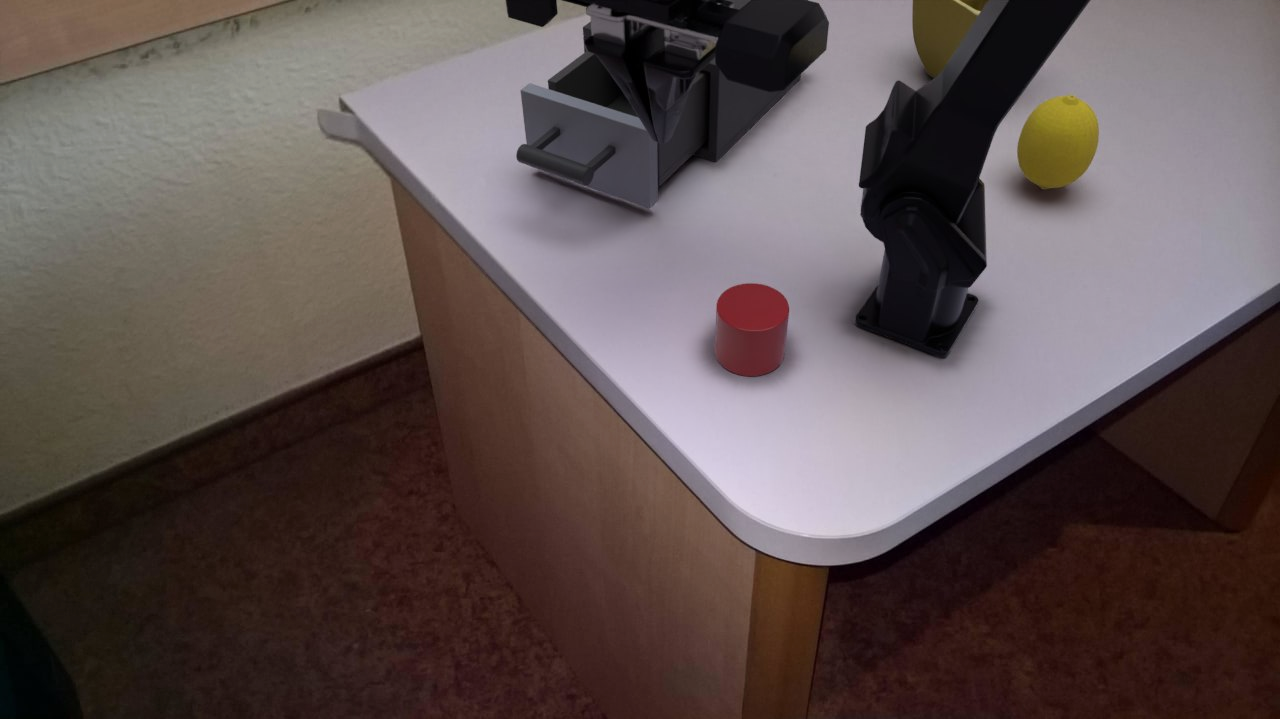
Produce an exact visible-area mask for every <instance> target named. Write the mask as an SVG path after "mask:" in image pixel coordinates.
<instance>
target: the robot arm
mask: <svg viewBox="0 0 1280 719" xmlns="http://www.w3.org/2000/svg"><path fill="white" fill-rule="evenodd" d="M561 1H563V2H566V3H570V4H573V5H577V6H581V7H585V13H586V16H590V22H591V32H592V35H591V36H589V37H588V38H587V39H585V41H584V40H583V46H584V45H585V49H586V51H588V52H590V53H593V54H595V55H596V56H597V57H598V58H599V60H600V61H601V62H602V64H603V65H604V67H605V68H606V69H607V71H608V72H609V73H610V75H611V76H612V78H613V79H614V80H615V82H616V83H617V84H618V86H619V87H620V89H621V90H622V91H623V93H624V95H625V96H626V98H627V99H628V101H629V102H630V104H631V106H632V107H633V109H634V111H635V112H636V114H637V116H638V117H639V119H640V120H641V122H642V124H643V125H644V127H645V129H646V130H647V132H648V134H649V135H650V137H651V139H652V140H653V141H655V142H659V143H661V144H665V143H666V142H667V141H669V140H670V139H671V138H672V136H673V134H674V131H675V128H676V126H677V123H678V121H679V118H680V115H681V113H682V110H683V108H684V105H685V102H686V100H687V97H688V95H689V92H690V90H691V87H692V85H693V82H694V80H695V78H696V76H697V74H698V72H699V71H701V70H702V69H703V68H704V67H705V66H706V65H708V64H709V63H710V62H711V61H712V60H714V59H715V64H716V65H717V66H718V68H719V69H720V71H721V72H722V73H723V75H724V76H725V77H726V79H727V80H729V81H732V82H736V83H739V84H743V85H746V86H750V87H753V88H757V89H760V90H764V91H767V92H775V91H782V90H785V89H786V88H787V87H788V86H789V85H790V84H791V83H792V82H793V81H794V80H795V79H796V78H797V77H798V76H799V75H801V76H802V74H803V73H804V72H805V71H806V70H807V69H808V68H809V67H810V66H811V65H812V64H814V63H815V61H816V60H818V59H819V58H820V57H821V56H822V55H823V54H824V53H825V52H826V51H827V48H828V37H829V28H830V21H829V19H828V17H827V15H826V12H825V11H824V9H823V7H822V5H820V2H816V1H812V0H751V1H750V2H748V3H747V4H746V5H745V6H743V7H742V8H741V9H740V10H739V9H735V8H734V3H733V2H730V1H726V0H561ZM1090 2H1091V0H988V1H987V3H986V4H985V6H984V7H983V9H982V11H981V12H980V14H979V15H978V17H977V18H976V20H975V21H974V23H973V24H972V26H971V27H970V29H969V31H968V32H967V34H966V35H965V37H964V38H963V40H962V41H961V43H960V44H959V46H958V47H957V49H956V51H955V52H954V54H953V55H952V57H951V58H950V60H949V61H948V63H947V64H946V66H945V67H944V69H943V70H942V71H941V72H940V74H939V75H938V76H937V77H936V78H933V79H931V80H930V81H929V82H926V84H924V85H922V86H921V87H919V88H918V89H916V90H915V89H913V88H911V87H910V86H909V85H908V84H906V83H905V82H904V81H901V80H896V81H895V82H894V85H893V87H892V88H891V92H890V93H889V97H888V99H887V102H886V104H885V106H884V108H883V109H882V111H881V112H880V113H879V114H878V116H877V117H876V118H875V119H874V120H872V121H870V122H869V123H868V124H867V125H866V126H865V131H864V137H863V138H864V139H863V146H862V154H861V163H860V172H859V181H858V188H860V189H862V195H861V204H860V217H861V219H862V221H863V225H864V227H865V228H866V230H867V231H868V232H869V233H870V234H871V236H872V237H874V238H875V239H876V240H878V241H880V242H881V243H883V246H884V251H883V257H882V262H881V268H880V272H879V278H878V283H877V286H875V288H874V289H873V291H872V293H871V294H870V296H869V297H868V298H867V300H866V301H865V302H864V304H863V305H862V307H861V308H860V309H859V311H858V312H857V314H855V315H856V316H855V320H854V324H855V325H856V326H858V327H860V328H862V329H865V330H867V331H870V332H873V333H876V334H878V335H881V336H884V337H886V338H889V339H892V340H894V341H896V342H900V343H902V344H904V345H908V346H909V347H913V348H915V349H918V350H921V351H923V352H926V353H928V354H932V355H934V356H937V357H940V358H945V357H947V356H948V355H949V354H950V353H951V351H952V349H953V347H954V346H955V344H956V343H957V341H958V339H959V338H960V336H961V334H962V332H963V331H964V329H965V328H966V325H967V324H968V322H969V321H970V319H971V317H972V315H973V314H974V312H975V311H976V309H977V307H978V304H979V297H978V296H976V295H974V294H972V293H969V292H968V291H969V288H971V287H972V286H973V284H974V283H975V282H976V281H977V280H978V278H979V277H980V276H981V275H982V273H984V271H985V270H986V269H987V267H988V261H987V260H988V259H987V257H988V256H987V255H988V254H987V224H986V223H987V222H986V220H987V219H986V189H985V186H986V185H985V183H984V181H983V180H982V179H981V178H980V177H981V174H982V171H983V169H984V165H985V163H986V160H987V157H988V154H989V151H990V148H991V145H992V142H993V140H994V137H995V135H996V132H997V130H998V128H999V126H1000V125H1001V123H1002V122H1003V120H1004V119H1005V118H1006V117H1007V115H1008V114H1009V112H1010V111H1011V110H1012V108H1013V107H1014V105H1015V104H1016V103H1017V102H1018V100H1019V99H1020V97H1021V96H1022V95H1023V94H1024V92H1025V91H1026V89H1027V88H1028V86H1029V85H1030V84H1031V82H1032V81H1033V80H1034V78H1035V77H1036V76H1037V74H1038V73H1039V71H1040V70H1041V69H1042V68H1043V66H1044V65H1045V63H1046V62H1047V61H1048V59H1049V58H1050V56H1051V55H1052V54H1053V52H1054V51H1055V50H1056V48H1058V45H1059V44H1060V43H1061V42H1062V40H1063V39H1064V37H1065V36H1066V34H1068V32H1069V31H1070V30H1071V28H1072V27H1073V25H1074V24H1075V23H1076V21H1077V20H1078V18H1080V15H1081V14H1082V13H1083V12H1084V10H1085V9H1086V7H1087V6H1088V5H1089V3H1090ZM505 7H506V13H507V16H508V19H513V20H516V21H520V22H522V23H526V24H530V25H534V26H537V27H540V28H544V27H545V26H547V25H548V24H549V23H550V22H551V21H553V19H554V18H555V17H556V16H557V15H558V14H559V12H558V2H557V0H505Z"/></svg>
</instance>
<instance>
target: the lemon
mask: <svg viewBox="0 0 1280 719" xmlns="http://www.w3.org/2000/svg"><path fill="white" fill-rule="evenodd" d="M1099 136H1100V127H1099V119H1098V117H1097V115H1096V113H1095V111H1094V110H1093V108H1092V107H1091V106H1090V105H1089V104H1088V103H1087V102H1085V101H1084V100H1082V99H1080V98H1077V96H1076V95H1074V94H1068V95H1060V96H1055V97H1052V98H1048V99H1047V100H1045V101H1043V102H1042V103H1039V105H1038V106H1036V107H1035V108H1034V110H1032V112H1031V113H1030V115H1029V116H1028V117H1027V119H1026V120H1025V122H1024V124H1023V126H1022V129H1021V130H1020V134H1019V138H1018V141H1017V148H1016V155H1017V156H1016V157H1017V161H1018V166H1019V169H1020V171H1021V172H1022V173H1023V175H1024V176H1025V178H1027V179H1028V180H1029V181H1030V182H1031V183H1033V184H1035V185H1037V186H1038V187H1039V188H1040V189H1041V190H1049V189H1057V188H1064V187H1066V186H1068V185H1070V184H1073V183H1075V182H1076V181H1077V180H1079V179H1080V178H1081V177H1082V176H1083V175H1084V174H1085V173H1086V172H1087V170H1088V169H1089V167H1090V166H1091V164H1092V162H1093V160H1094V157H1095V156H1096V152H1097V149H1098V145H1099V140H1100V139H1099Z"/></svg>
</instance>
